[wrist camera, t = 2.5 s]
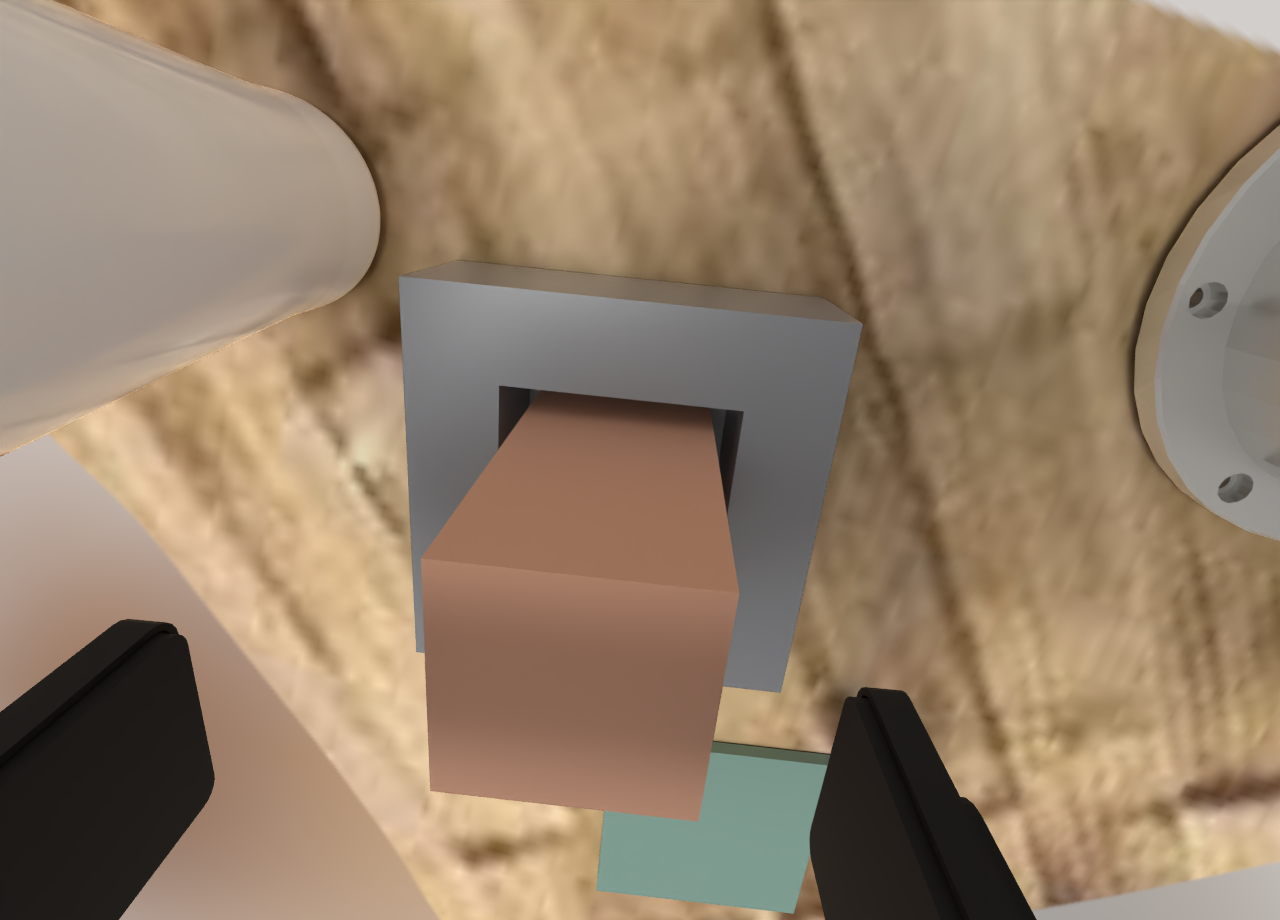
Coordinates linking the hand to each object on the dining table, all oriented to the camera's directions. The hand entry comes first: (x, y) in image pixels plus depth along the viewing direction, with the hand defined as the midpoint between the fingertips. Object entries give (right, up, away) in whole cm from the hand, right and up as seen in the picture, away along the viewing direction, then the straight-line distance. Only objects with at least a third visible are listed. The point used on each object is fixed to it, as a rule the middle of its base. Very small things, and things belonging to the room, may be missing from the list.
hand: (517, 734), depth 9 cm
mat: (+4, -10, +16) cm, 19 cm away
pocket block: (+1, +4, +10) cm, 11 cm away
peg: (+1, +4, +10) cm, 11 cm away
